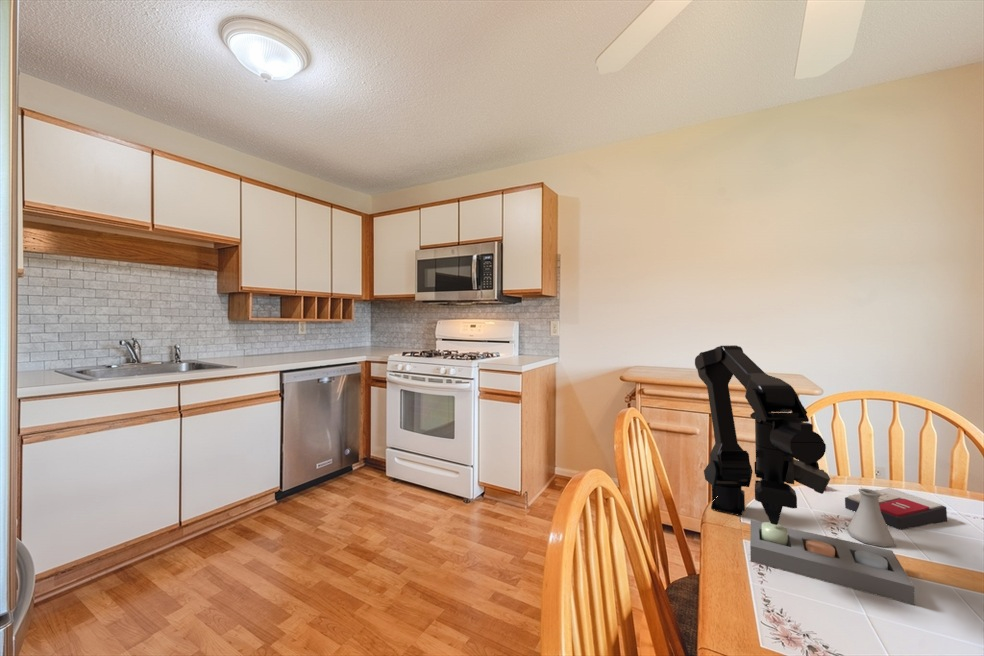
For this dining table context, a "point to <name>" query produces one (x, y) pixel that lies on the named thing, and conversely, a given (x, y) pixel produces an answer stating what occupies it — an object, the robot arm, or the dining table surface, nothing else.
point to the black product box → (903, 509)
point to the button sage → (774, 533)
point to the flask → (870, 521)
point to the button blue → (871, 559)
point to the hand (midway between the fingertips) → (774, 523)
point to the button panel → (833, 563)
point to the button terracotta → (820, 548)
